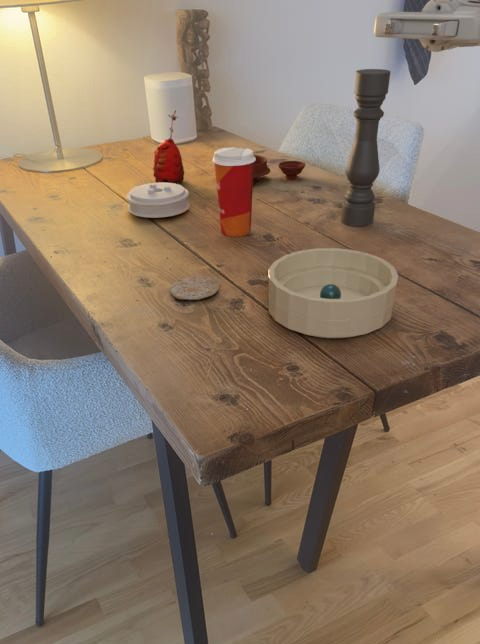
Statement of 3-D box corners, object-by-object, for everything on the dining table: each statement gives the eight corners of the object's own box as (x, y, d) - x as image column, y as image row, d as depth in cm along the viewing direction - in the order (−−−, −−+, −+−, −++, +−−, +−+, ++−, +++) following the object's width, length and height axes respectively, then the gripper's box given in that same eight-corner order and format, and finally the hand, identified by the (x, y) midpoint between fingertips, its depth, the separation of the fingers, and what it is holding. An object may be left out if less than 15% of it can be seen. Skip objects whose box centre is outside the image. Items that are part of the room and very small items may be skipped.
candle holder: (373, 216, 112) (392, 68, 96) (372, 227, 107) (392, 74, 92) (342, 215, 113) (355, 68, 97) (339, 225, 108) (353, 73, 93)
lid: (200, 214, 115) (198, 189, 112) (143, 226, 110) (139, 200, 107) (173, 198, 124) (171, 174, 121) (119, 209, 119) (116, 184, 116)
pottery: (219, 174, 138) (218, 154, 135) (300, 170, 139) (301, 151, 136) (222, 188, 129) (221, 167, 126) (308, 184, 130) (309, 164, 127)
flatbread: (183, 277, 91) (183, 271, 91) (227, 284, 89) (226, 278, 88) (160, 299, 85) (159, 293, 85) (206, 306, 83) (205, 300, 82)
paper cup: (227, 222, 111) (224, 144, 103) (262, 227, 109) (262, 148, 100) (208, 235, 106) (203, 155, 97) (244, 241, 103) (243, 159, 94)
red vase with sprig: (156, 178, 136) (148, 108, 127) (185, 177, 136) (180, 107, 127) (153, 187, 130) (145, 114, 121) (184, 186, 130) (178, 113, 121)
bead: (343, 285, 79) (336, 306, 79) (344, 288, 81) (338, 308, 82) (322, 280, 79) (316, 301, 80) (324, 283, 82) (318, 303, 83)
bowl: (379, 284, 88) (384, 246, 84) (403, 342, 74) (411, 300, 71) (266, 286, 88) (266, 249, 85) (270, 343, 75) (270, 302, 71)
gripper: (395, 2, 111) (360, 6, 102) (500, 3, 100) (471, 7, 92) (390, 41, 115) (356, 48, 106) (491, 45, 104) (462, 53, 96)
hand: (410, 29), depth 99 cm, fingers open, 8 cm apart
